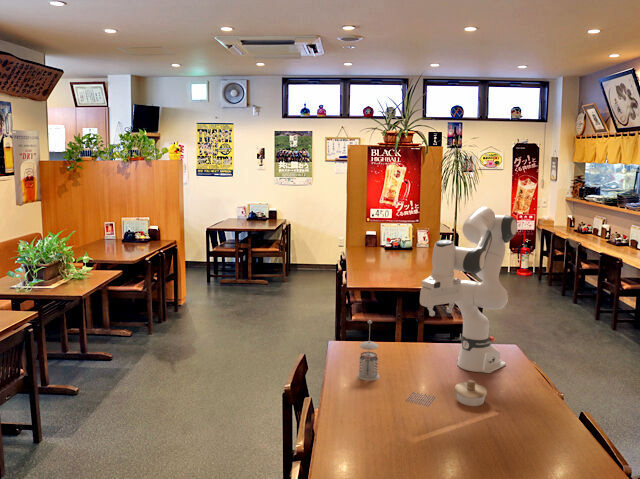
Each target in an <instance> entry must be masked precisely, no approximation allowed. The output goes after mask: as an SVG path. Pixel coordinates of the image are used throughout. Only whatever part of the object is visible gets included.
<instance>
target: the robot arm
mask: <svg viewBox="0 0 640 479" xmlns="http://www.w3.org/2000/svg"><path fill="white" fill-rule="evenodd" d="M461 229H462V233H463V236H464V237H465V239H466V240H467V241H468V242H470V243H473V244H475V245H476V244H477V245H476V247H471V248H470V247H464V246H463V247H461V246H456V245H455V242H454V241H453V240H450V239H441V240H437V241H435V243H434V245H433V249H432V256H431V265H432V269H431V275H429V276H428V277H426V278H424V279H422V280H421V283H420V285H421V286H422V287H421V289H420V292H419V293H420V294H419V304H420V305H421V306H423V307H425V308H427V310H428V313H429V314H428V315H429V316H430V317H434V316H436V312H435V311H434V306H440V305H445V304H448V306H447V307H446V313H448V314H451V313H453V309H454V306H455V304H456V306H458V308H459V310H460V313H461V317H462V334H461V338H460V339H461V340H460V341H461V344H460V348H459V354H458V357H457V363H456V364H457V366H458V367H459V368H461V369H462V370H464V371H468V372H469V371H470V372H476V373H486V374H490V373H493V372H494V371H496V370H498V369H500V368H504V367H505V366H506V362H505V361H504V360H502V359H501V353H500V351H499V350H498V349H497V348H496V347H495V346H494V345H492V344H491V342H495V340H496V338H495V337H494V336H491V335H490V336H489V328H490V322H489V318H488V317H487V316H485V315H484V314H483V313H482V312H481V311H480V310H479V308H483V309H488V310H502V309H503V308H504V307H505V306H506V305H507V303H508V301H509V300H508V299H509V294H508V290H507V289H506V288H505V287H504V286H503V285H502V283H501V282H500V272H501V268H502V265H503V262H504V259H505V254H506V244H507V243H509V242H511V240H512V239H513V238H514V237H515V236H516V234H517V232H518V222H517V220H516V219H515V217H514V216H511V215H508V214H507V215H503V214H502V215H501V214H495V212H494V211H493V209H492V208H490V207H488V206H480V207H479V208H477V209H475V210H474V211H473V212H472V213H471V214H470V215H469V216H468V217H467V218H466V219H465V220H464V222H463V225H462V228H461ZM454 271H460V272H465V273H468V274H469V273H470V274H473V275H476V276H477V277H478V278H479V279H480V280H481V281H475V280H468V279H459V278H455V272H454Z"/></svg>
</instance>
